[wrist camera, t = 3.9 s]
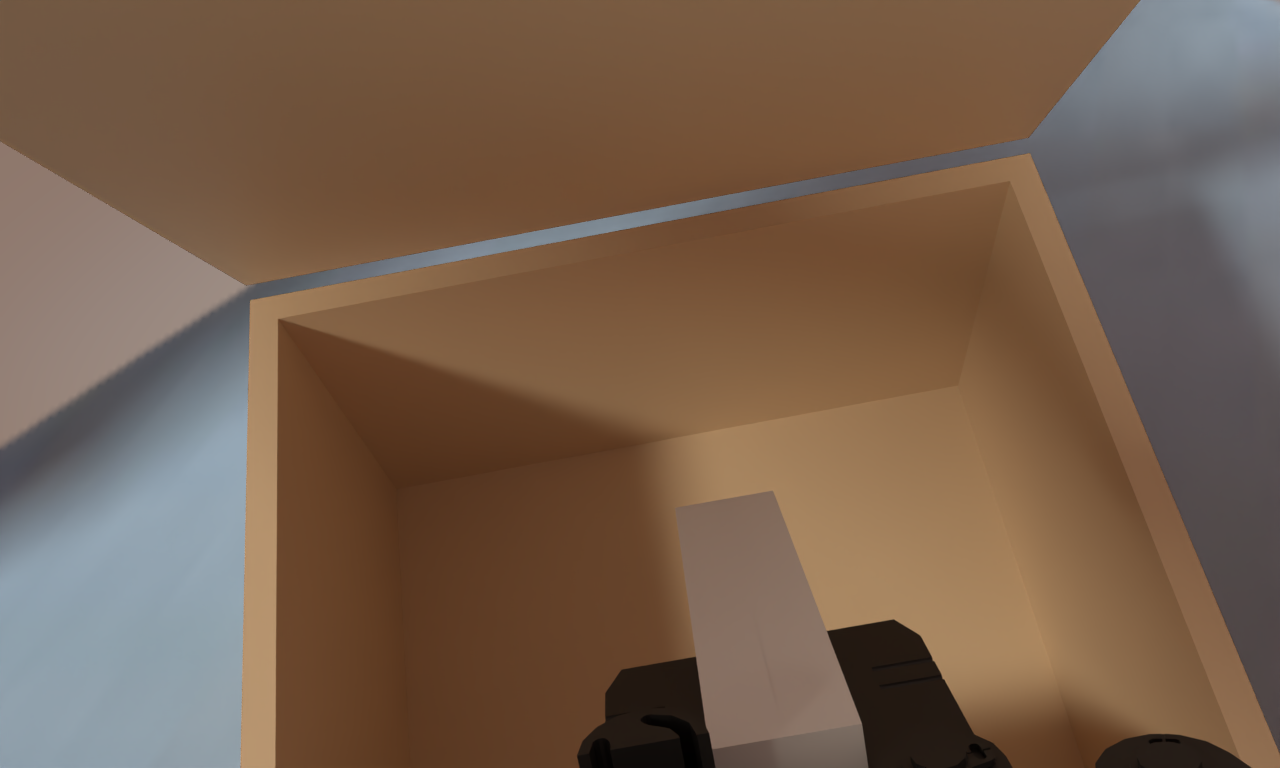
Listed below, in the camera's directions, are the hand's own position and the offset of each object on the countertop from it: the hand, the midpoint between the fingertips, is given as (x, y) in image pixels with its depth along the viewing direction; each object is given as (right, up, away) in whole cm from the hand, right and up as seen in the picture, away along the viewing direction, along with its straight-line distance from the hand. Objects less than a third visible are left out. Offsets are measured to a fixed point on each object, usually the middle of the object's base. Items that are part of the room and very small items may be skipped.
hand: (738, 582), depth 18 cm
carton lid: (-2, +9, +6) cm, 11 cm away
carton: (+1, -6, +21) cm, 22 cm away
